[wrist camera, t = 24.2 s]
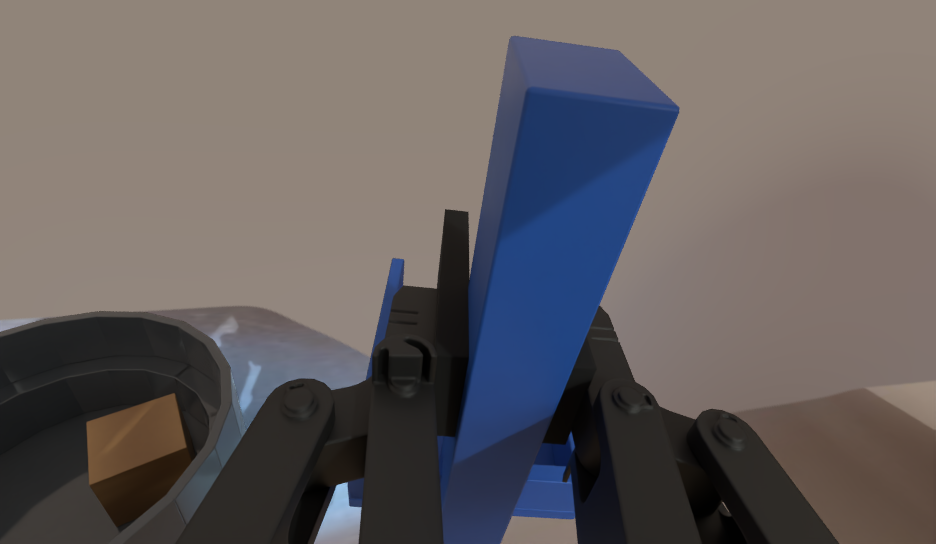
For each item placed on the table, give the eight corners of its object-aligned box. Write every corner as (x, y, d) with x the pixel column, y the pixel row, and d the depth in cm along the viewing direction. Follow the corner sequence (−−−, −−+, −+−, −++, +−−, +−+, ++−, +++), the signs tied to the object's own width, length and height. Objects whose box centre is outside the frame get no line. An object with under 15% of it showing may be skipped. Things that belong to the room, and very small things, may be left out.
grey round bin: (310, 469, 28) (300, 393, 24) (-36, 827, 16) (-174, 795, 12) (146, 355, 33) (116, 278, 29) (-202, 556, 21) (-334, 472, 17)
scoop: (581, 567, 15) (903, 136, 6) (339, 554, 15) (275, 53, 5) (537, 309, 25) (633, -5, 16) (391, 296, 24) (400, -40, 15)
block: (116, 527, 23) (88, 485, 21) (111, 465, 26) (86, 421, 24) (203, 489, 25) (187, 447, 23) (190, 435, 28) (174, 392, 26)
